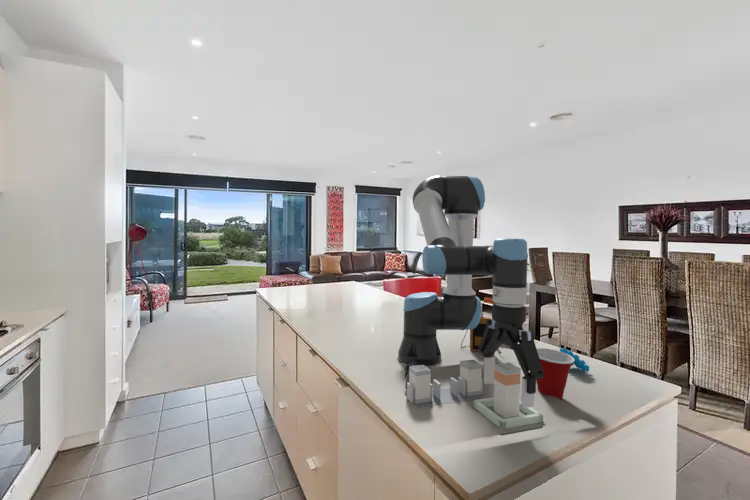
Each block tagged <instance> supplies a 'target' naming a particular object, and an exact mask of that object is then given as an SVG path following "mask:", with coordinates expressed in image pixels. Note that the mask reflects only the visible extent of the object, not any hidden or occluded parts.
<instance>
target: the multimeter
mask: <svg viewBox="0 0 750 500" xmlns="http://www.w3.org/2000/svg"><path fill="white" fill-rule="evenodd" d="M486 302H487V300H485V301H483V302H482V303H481V307H482V311H481V318H480V321H479V324H478V325H477V327H476V328H474V329H469V330H466V332H465V335H464V337H463V339H462V340H461V344H460V349H462V347H463V348H466V347H465V346H466V345H465V346H462V345H463V342H464V341H465V338H466V335H467V332H468V331H469V346H470V347H469V350H470V351H475V352H479V350H478V348H479V345H480V342H481V339H482V337H483V334H484V331H485V328H486V321H487V319H492V317H488V316H487V317H485V316H484V313H483V312H484V311H483V307H484V306H483V305H484V303H486ZM489 302H490V303H492V305H493V304H495V303H494V302H493V301H492V300H489ZM484 347H485V346H484ZM496 352H497V353H499V354H500V353H502V351H501V350H500V348H498V349H497V350H496Z"/></svg>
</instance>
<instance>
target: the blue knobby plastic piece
mask: <svg viewBox="0 0 750 500" xmlns="http://www.w3.org/2000/svg"><path fill="white" fill-rule="evenodd" d="M559 351H560V352H563V353H566V354H568V355H570V356H572V357H573V358H574V359H575V361H574V362H573V363H572V365H571V367H572V366H574V365H575V367H576V368H577V369H580V370H582V372H585V371H586V372H589V371H590V367H591V366H589V365H588V364H586V361H585V360H583V359H580V356H579V355H578V354H574V353H573V351H572V350H568V349H567V348H565V347H563V348H562V347H561V348H559Z"/></svg>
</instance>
